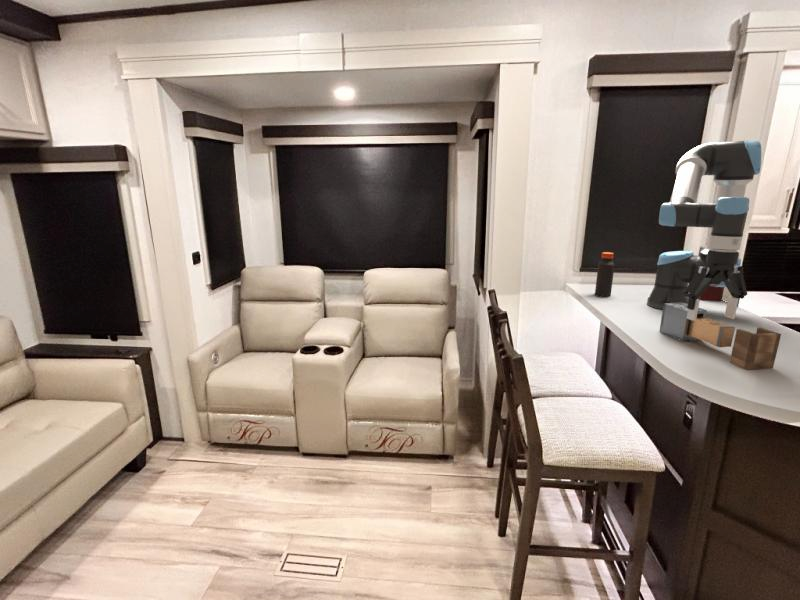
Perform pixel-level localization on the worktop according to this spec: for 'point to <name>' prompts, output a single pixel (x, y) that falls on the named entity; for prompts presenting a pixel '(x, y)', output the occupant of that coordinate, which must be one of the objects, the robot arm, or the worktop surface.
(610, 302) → the worktop surface
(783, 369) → the worktop surface
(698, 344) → the worktop surface
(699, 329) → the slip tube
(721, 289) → the toy vending machine
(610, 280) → the bottle
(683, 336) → the sleeve
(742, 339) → the brown wooden box
